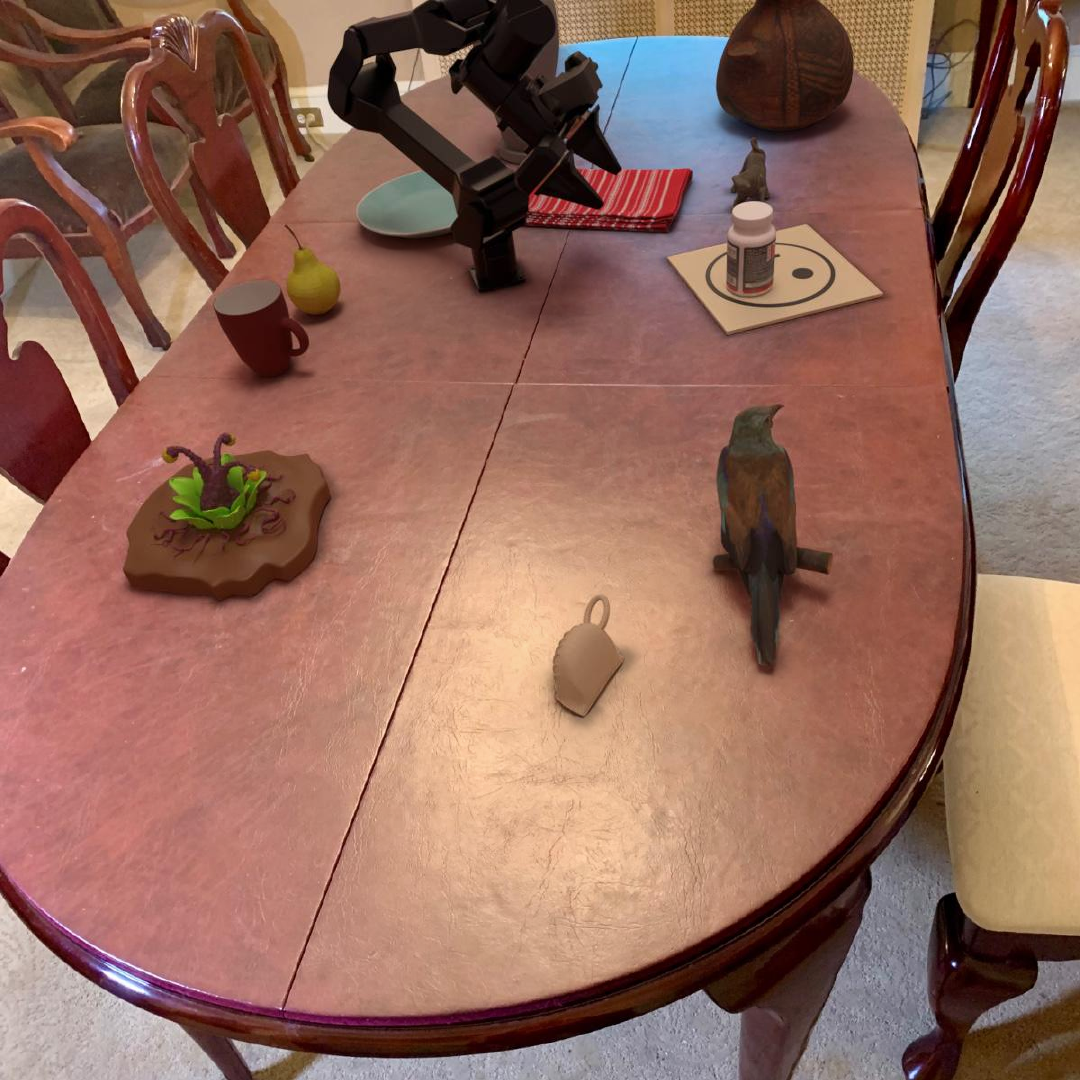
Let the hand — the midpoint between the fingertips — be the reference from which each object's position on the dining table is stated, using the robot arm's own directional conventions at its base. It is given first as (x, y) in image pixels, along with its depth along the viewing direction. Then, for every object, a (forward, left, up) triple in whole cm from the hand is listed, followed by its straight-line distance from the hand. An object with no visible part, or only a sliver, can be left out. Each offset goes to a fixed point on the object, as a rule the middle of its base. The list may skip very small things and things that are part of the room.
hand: (610, 189), depth 111 cm
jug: (-41, +42, -14) cm, 60 cm away
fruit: (-13, -37, -14) cm, 42 cm away
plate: (-34, -18, -14) cm, 41 cm away
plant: (+27, -50, -14) cm, 59 cm away
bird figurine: (+52, -3, -14) cm, 54 cm away
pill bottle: (+7, +15, -13) cm, 21 cm away
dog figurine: (-15, +25, -14) cm, 32 cm away
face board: (+5, +19, -14) cm, 24 cm away
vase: (-49, +1, -14) cm, 50 cm away
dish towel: (-25, +7, -14) cm, 29 cm away
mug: (-1, -43, -14) cm, 46 cm away
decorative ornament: (+57, -21, -14) cm, 63 cm away
